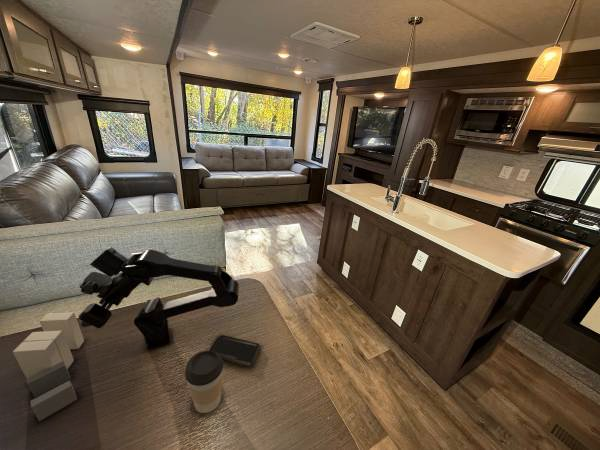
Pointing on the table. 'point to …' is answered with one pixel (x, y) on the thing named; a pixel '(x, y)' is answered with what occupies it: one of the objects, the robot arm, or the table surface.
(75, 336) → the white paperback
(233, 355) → the phone
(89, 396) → the table surface
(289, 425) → the table surface
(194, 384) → the coffee cup
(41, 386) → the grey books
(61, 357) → the white books
